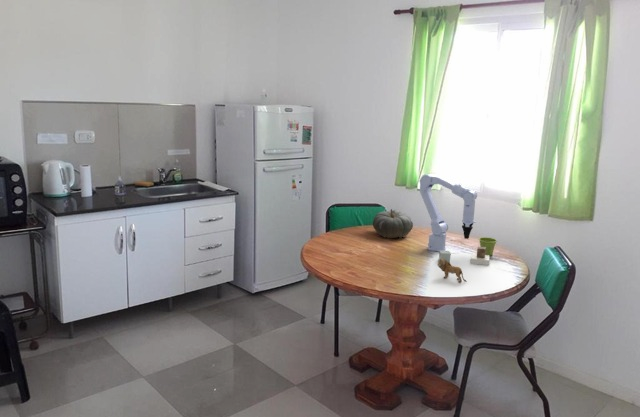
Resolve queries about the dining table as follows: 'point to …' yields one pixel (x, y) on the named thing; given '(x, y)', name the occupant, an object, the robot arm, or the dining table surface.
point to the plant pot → (488, 244)
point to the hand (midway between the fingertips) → (466, 236)
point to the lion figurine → (450, 269)
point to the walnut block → (481, 252)
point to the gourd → (392, 224)
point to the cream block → (480, 259)
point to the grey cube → (445, 255)
